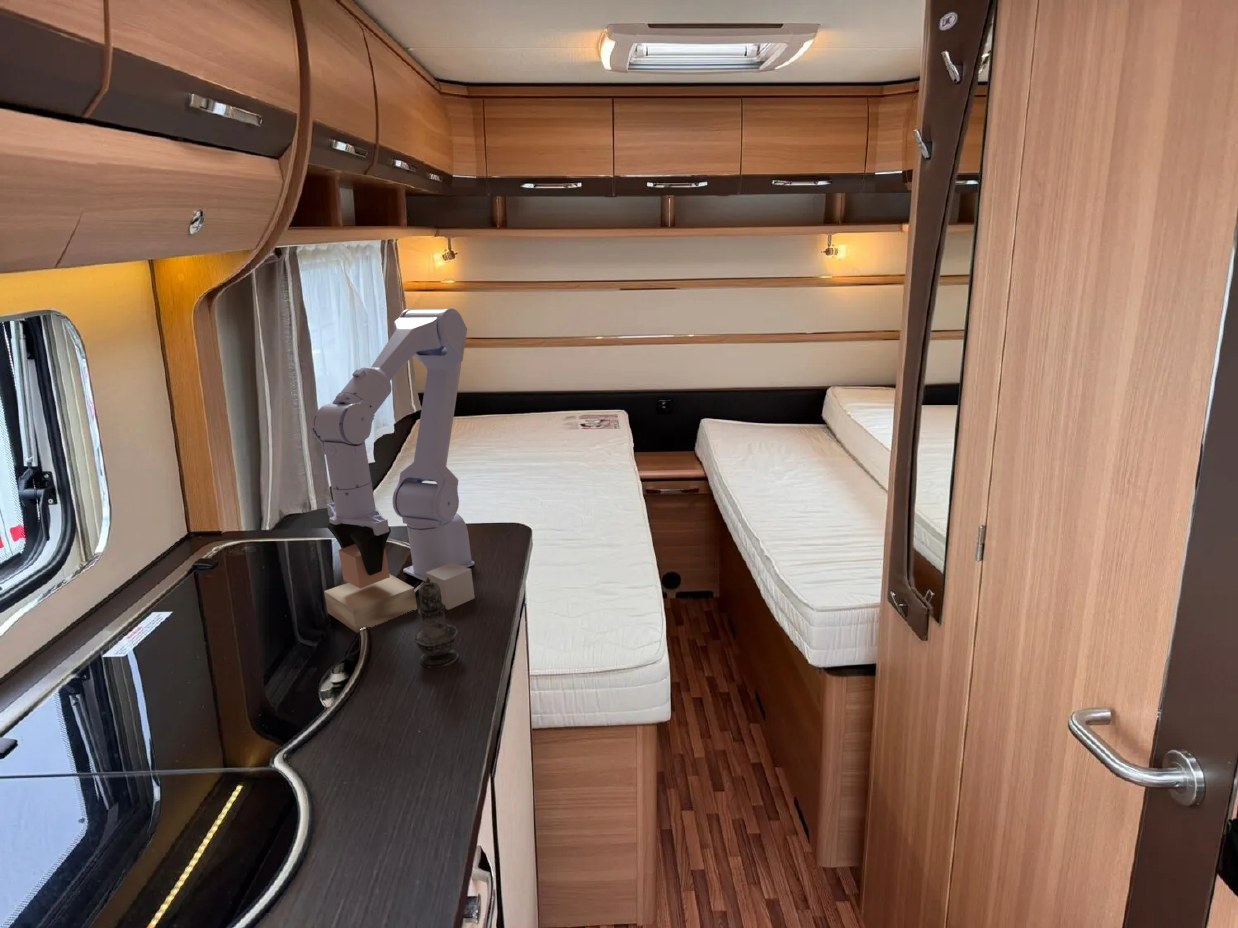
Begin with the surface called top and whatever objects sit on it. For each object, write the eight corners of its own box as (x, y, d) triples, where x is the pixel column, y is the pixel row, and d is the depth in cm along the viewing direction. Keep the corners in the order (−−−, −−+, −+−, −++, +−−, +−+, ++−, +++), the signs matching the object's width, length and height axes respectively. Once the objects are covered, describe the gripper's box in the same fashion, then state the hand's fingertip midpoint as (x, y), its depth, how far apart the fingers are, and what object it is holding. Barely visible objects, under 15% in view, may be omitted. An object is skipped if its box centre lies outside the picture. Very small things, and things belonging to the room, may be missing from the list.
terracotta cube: (372, 569, 135) (367, 539, 134) (389, 577, 132) (384, 546, 130) (343, 580, 132) (338, 549, 130) (360, 588, 128) (355, 557, 127)
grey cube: (456, 590, 139) (452, 561, 137) (474, 598, 135) (471, 569, 134) (429, 601, 135) (425, 572, 134) (448, 610, 132) (444, 580, 131)
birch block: (386, 593, 140) (383, 570, 139) (417, 611, 133) (414, 587, 132) (328, 614, 134) (324, 591, 133) (357, 634, 127) (353, 610, 126)
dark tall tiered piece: (408, 664, 117) (395, 583, 113) (436, 644, 122) (424, 565, 118) (442, 672, 114) (430, 589, 110) (469, 651, 119) (459, 571, 115)
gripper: (303, 482, 130) (318, 565, 134) (351, 500, 120) (366, 589, 124) (345, 470, 134) (359, 551, 138) (395, 486, 124) (408, 573, 128)
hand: (365, 568), depth 131 cm, fingers closed on terracotta cube, 5 cm apart
